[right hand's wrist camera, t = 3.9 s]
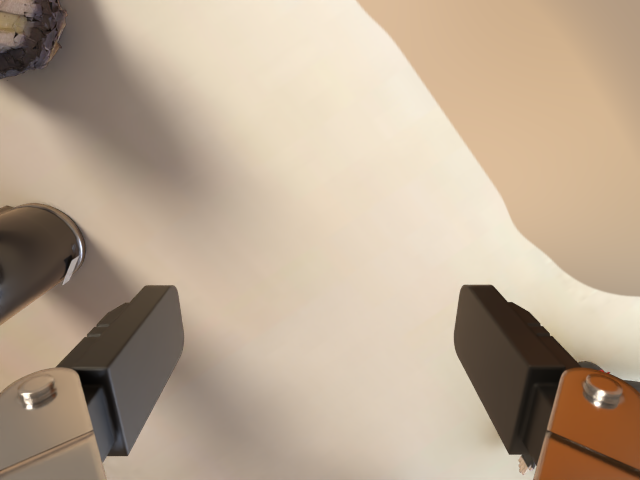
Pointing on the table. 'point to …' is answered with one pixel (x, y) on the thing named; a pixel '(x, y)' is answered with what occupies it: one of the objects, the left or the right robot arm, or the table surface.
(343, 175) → the table surface
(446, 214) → the table surface
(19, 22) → the miniature building
